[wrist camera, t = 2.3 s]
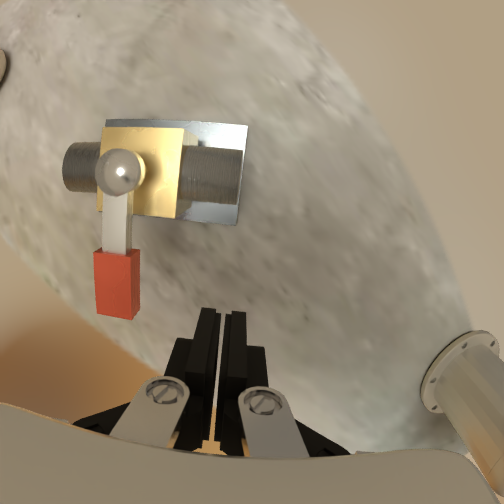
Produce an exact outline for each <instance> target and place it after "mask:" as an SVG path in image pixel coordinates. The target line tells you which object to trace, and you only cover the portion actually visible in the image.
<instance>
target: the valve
mask: <svg viewBox="0 0 504 504" xmlns="http://www.w3.org/2000/svg"><path fill="white" fill-rule="evenodd" d="M247 132H248V126H245V125H235V124H225V123H213V122H199V121H182V120H154V119H108V120H106V125H105V127H103V130H102V138H101V142H76V143H73V144H72V145H71V146H70V147H69V148H68V150H67V152H66V154H65V157H64V160H63V167H62V174H63V180H64V184H65V186H66V188H67V189H68V190H69V191H72V192H89V193H97V211H99V212H103V191H102V190H101V189H100V188H99V187H98V185H97V182H96V179H95V168H96V164H97V162H98V160H99V158H100V157H101V156H102V155H103V154H104V153H105V152H107V151H108V150H111V149H116V148H119V149H129V150H132V151H135V152H136V153H137V154H139V155H140V157H141V158H142V160H143V162H144V165H145V176H144V179H143V182H142V184H141V185H140V186H139V188H138V189H136V190H135V191H134V198H133V215H138V216H149V217H159V218H169V219H179V220H188V221H198V222H207V223H216V224H225V225H234V226H236V223H237V215H238V206H239V198H240V189H241V181H242V172H243V164H244V156H245V148H246V140H247Z"/></svg>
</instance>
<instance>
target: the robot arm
mask: <svg viewBox="0 0 504 504" xmlns="http://www.w3.org/2000/svg"><path fill="white" fill-rule="evenodd" d="M220 323H221V313H216V309H211V308H201V312H200V316H199V319H198V323H197V327H196V331H195V334H194V338H193V339H185V338H177V339H176V342H175V345H174V348H173V350H172V353H171V356H170V359H169V362H168V365H167V368H166V371H165V374H164V376H158V377H154V378H151V379H149V380H147V381H146V382H145V383H144V384H143V385H142V386H141V388H140V389H139V391H138V392H137V394H136V395H135V397H134V398H133V400H132V401H131V402H129V403H126V404H123V405H121V406H118V407H115V408H112V409H109V410H106V411H104V412H101V413H98V414H95V415H92V416H88V417H86V418H82V419H80V420H78V421H76V422H74V423H73V424H69V423H68V420H63V419H56V418H50V417H46V416H43V415H40V414H38V413H35V412H32V411H29V410H26V409H23V408H20V407H17V406H13V405H10V404H6V403H1V402H0V504H501V503H500V502H499V500H498V498H497V497H496V495H495V493H497V494H498V495H500V496H502V497H504V362H503V361H502V360H501V359H500V358H499V345H498V342H497V339H496V338H495V337H494V336H493V335H492V334H490V333H489V332H487V331H483V330H479V331H473V332H470V333H468V334H465V335H463V336H461V337H460V338H458V339H457V340H455V341H454V342H453V343H451V344H450V345H449V346H448V347H447V348H446V349H445V350H444V351H443V352H442V353H441V354H440V355H439V356H438V357H437V359H436V360H435V361H434V362H433V364H432V365H431V367H430V368H429V370H428V372H427V374H426V376H425V378H424V381H423V384H422V387H421V399H422V402H423V404H424V405H425V407H426V408H427V409H428V410H429V411H430V412H433V413H445V415H446V416H447V418H448V419H449V421H450V422H451V424H452V425H453V427H454V428H455V430H456V431H457V433H458V435H459V436H460V438H461V439H462V441H463V442H464V444H465V446H466V447H467V449H468V450H469V452H470V453H471V455H472V456H473V458H474V460H475V462H476V463H477V465H478V466H479V468H480V470H481V471H482V473H483V475H484V476H485V478H486V479H485V478H484V476H483V475H482V474H481V472H480V471H479V470H478V468H477V467H476V466H475V465H474V464H473V463H472V462H471V461H470V460H469V459H467V458H466V457H465V456H463V455H461V454H458V453H455V452H451V451H446V450H437V449H406V450H395V451H387V452H362V451H356V453H355V454H350V453H349V452H348V451H347V450H346V449H344V448H343V447H342V446H340V445H338V444H336V443H334V442H333V441H331V440H329V439H327V438H326V437H324V436H322V435H321V434H319V433H317V432H315V431H314V430H312V429H310V428H309V427H307V426H305V425H304V424H302V423H301V422H299V421H297V420H296V419H294V417H293V414H292V412H291V409H290V407H289V404H288V402H287V400H286V398H285V397H284V395H282V394H281V393H280V392H279V391H276V390H274V389H272V388H269V386H268V376H267V367H266V358H265V349H264V347H260V346H248V345H247V333H246V312H239V311H232V314H226V317H225V326H224V336H223V345H222V354H221V364H220V374H219V385H218V397H217V409H216V422H215V436H214V441H219V442H220V450H221V451H223V452H225V453H226V454H227V455H219V454H208V453H200V452H192V451H194V450H196V449H197V448H202V442H203V440H209V435H210V425H211V416H212V415H211V414H212V407H213V398H214V389H215V380H216V370H217V358H218V346H219V334H220ZM486 480H487V481H488V482H487V481H486ZM488 483H489V484H488ZM490 486H491V487H490ZM492 489H493V490H492ZM494 492H495V493H494Z"/></svg>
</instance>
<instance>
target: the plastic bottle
mask: <svg viewBox="0 0 504 504" xmlns="http://www.w3.org/2000/svg"><path fill="white" fill-rule="evenodd" d="M5 70H6V57H5V54H4V52H3V50H1V49H0V82H1V80H2V78H3V76H4V73H5Z"/></svg>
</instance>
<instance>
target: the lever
mask: <svg viewBox="0 0 504 504" xmlns="http://www.w3.org/2000/svg"><path fill="white" fill-rule="evenodd" d="M144 176H145V165H144V162H143V160H142V158H141V157H140V155H139V154H137V153H136V152H135V151H132V150H129V149H119V148H116V149H111V150H108V151H107V152H105V153H104V154H103V155H102V156H101V157H100V158H99V160H98V162H97V164H96V168H95V179H96V182H97V185H98V187H99V188H100V189H101V190H102V191H103V213H102V247H101V248H100V249H98V250H97V251H95V252H93V255H94V280H95V295H96V308H97V314H102V315H107V316H112V317H118V318H123V319H128V320H132V319H133V318H134V316H135V315H136V314H137V312H138V311H139V309H140V250H139V249H132V217H133V198H134V191H135V190H136V189H138V188H139V186H140V185H141V184H142V182H143V179H144Z"/></svg>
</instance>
